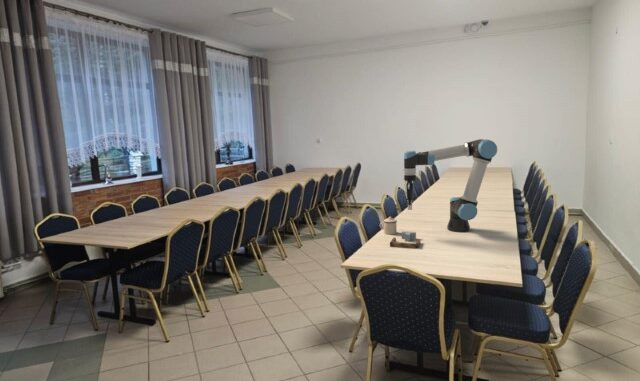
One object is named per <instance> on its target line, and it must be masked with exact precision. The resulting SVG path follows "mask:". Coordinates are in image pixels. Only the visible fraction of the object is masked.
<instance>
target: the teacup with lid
mask: <svg viewBox="0 0 640 381" xmlns="http://www.w3.org/2000/svg"><path fill="white" fill-rule="evenodd" d="M397 222H398V221H397V220H396V219H395V218H393V217H392V216H388V218H387V217H386V218H385V219H384V220H383V222H380V223H379V227H380V229H381V230H383V233H384V234H385V235H396V234H397ZM382 224H383V227H382Z"/></svg>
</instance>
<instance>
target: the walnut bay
mask: <svg viewBox="0 0 640 381" xmlns="http://www.w3.org/2000/svg"><path fill="white" fill-rule="evenodd" d="M420 245H421V238H418V239H416V242H415V243H414V242H402V241H401V242H400V241H397V237H393V238H392V239H391V240H390V242H389V247H390V248H392V247H393V248H405V249H406V248H407V249H419V248H420Z"/></svg>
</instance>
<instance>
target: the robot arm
mask: <svg viewBox="0 0 640 381" xmlns="http://www.w3.org/2000/svg"><path fill="white" fill-rule="evenodd" d="M497 153H498V146H497V144H496V143H495V142H494V141H493V140H491V139H483V138H481V139H480V138H479V139H476V140H472V141H469V142H468V141H467V142H464V143H463V144H461V145H460V144H459V145H454V146H449V147H448V146H447V147H445V148H439V149H434V150H433V149H432V150H428V151H422V152H421V151H419V152H416V150H407V151H404V155H403V167H404V168H403V170H402V171H403V173H404V175H403V176H404V177H403V181H405V182H407V183H406V201H407V210H408V211H409V210H410V211H412V210H413V200H414V197H413V196H414V195H413V193H414V190H413V189H414V183H413V182H414V181H416V179H417V176H416V175H417V168H416V167H417V166H433V165H434V164H435V162H437V161H438V162H439V161H442V160H449V159H454V158H458V157H460V158H461V157H468V158H469V157H472V160H473V163H472V166H471V170H470V172H469V177H468V178H467V181H466V185H465V188H464V192H463V195H461V196H457V197H456V196H455V197H451V198H450V199H449V220H448V223H447V226H446V228H447V230H448V231H450V232H454V233H455V232H457V233H458V232H459V233H463V232H464V233H465V232H469V231H470V230H471V226H470V225H471V224H470V223H469V221H472V220H473V219H475V218H476V216H477V215H478V208H477V206H478V205H479V204H478V203H479V202H478V199H477V198H478V195H479V192H480V188H481V187H482V186H481V185H482V183H483V179H484V176H485V172H486V170H487V167H488V164H491V162H492V160H493V158H494V157H495V156H496V155H497Z"/></svg>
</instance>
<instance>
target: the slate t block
mask: <svg viewBox="0 0 640 381" xmlns="http://www.w3.org/2000/svg"><path fill="white" fill-rule="evenodd" d="M412 239H416V240H417V232H416V231H407V230H402V231H401V240H404V241H405V242H410V241H411V240H412Z"/></svg>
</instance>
